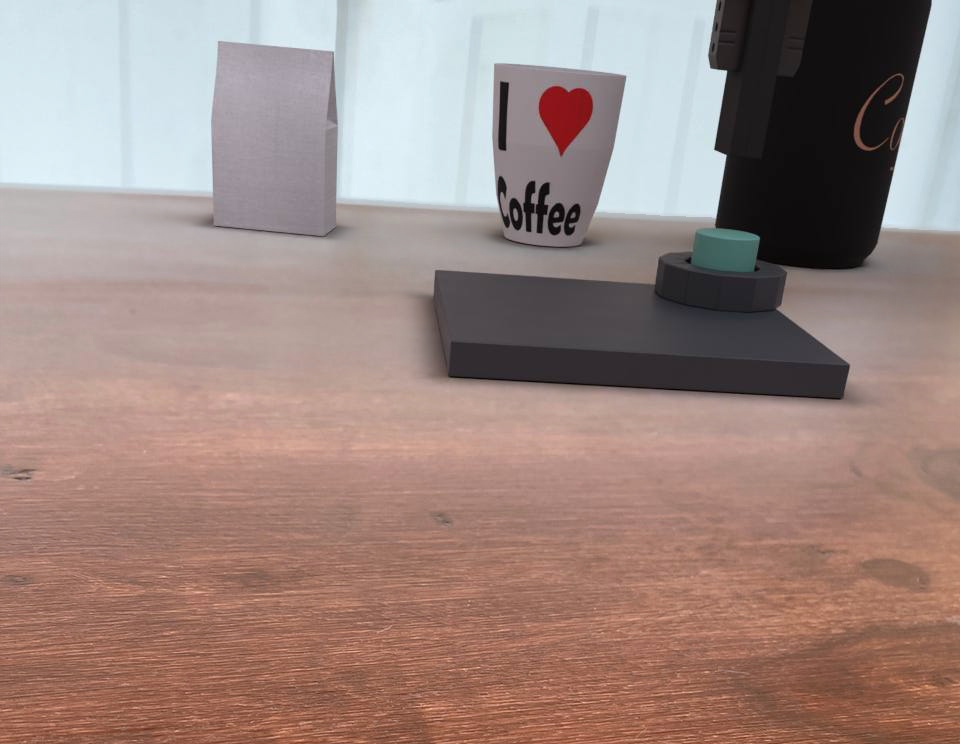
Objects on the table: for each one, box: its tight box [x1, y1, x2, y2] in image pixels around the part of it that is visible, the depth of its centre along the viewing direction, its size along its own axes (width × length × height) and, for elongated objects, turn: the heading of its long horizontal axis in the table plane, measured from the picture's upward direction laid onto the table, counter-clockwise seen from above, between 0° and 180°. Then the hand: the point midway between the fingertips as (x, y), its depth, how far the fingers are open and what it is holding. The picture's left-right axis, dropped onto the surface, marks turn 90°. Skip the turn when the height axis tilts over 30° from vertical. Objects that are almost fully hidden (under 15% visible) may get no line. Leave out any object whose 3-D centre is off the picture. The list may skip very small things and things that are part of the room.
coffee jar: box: [714, 0, 933, 269], centre depth 75 cm, size 11×11×18 cm
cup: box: [491, 62, 627, 248], centre depth 75 cm, size 8×8×10 cm
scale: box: [433, 251, 851, 399], centre depth 53 cm, size 16×14×3 cm
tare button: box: [691, 227, 760, 272], centre depth 56 cm, size 3×3×2 cm
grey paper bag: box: [210, 40, 339, 237], centre depth 71 cm, size 4×7×10 cm, turn 85°
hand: (737, 153), depth 54 cm, fingers closed
